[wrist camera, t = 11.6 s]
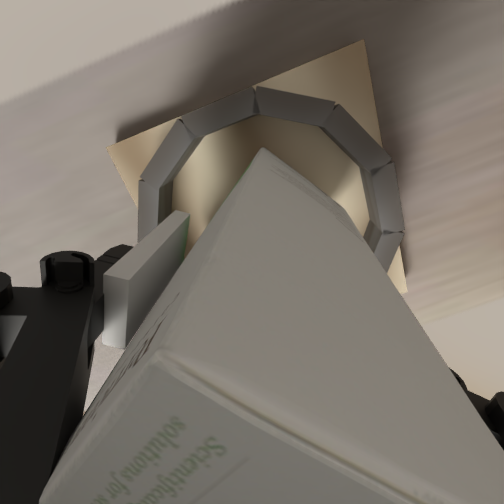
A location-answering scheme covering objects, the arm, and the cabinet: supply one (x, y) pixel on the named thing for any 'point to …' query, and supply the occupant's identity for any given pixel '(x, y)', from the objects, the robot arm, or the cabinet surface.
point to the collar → (275, 152)
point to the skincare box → (280, 376)
